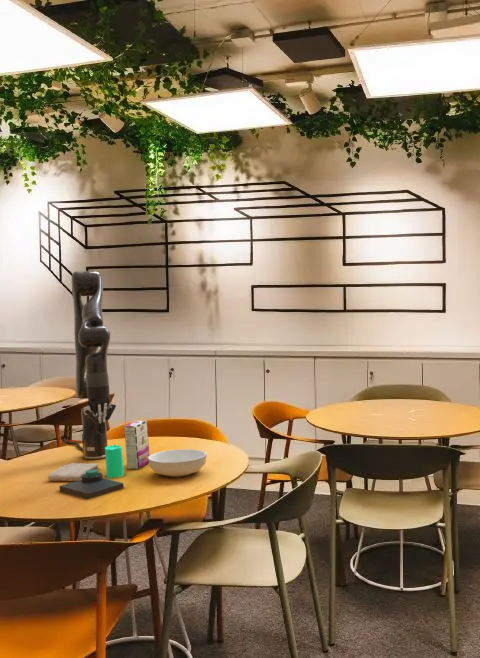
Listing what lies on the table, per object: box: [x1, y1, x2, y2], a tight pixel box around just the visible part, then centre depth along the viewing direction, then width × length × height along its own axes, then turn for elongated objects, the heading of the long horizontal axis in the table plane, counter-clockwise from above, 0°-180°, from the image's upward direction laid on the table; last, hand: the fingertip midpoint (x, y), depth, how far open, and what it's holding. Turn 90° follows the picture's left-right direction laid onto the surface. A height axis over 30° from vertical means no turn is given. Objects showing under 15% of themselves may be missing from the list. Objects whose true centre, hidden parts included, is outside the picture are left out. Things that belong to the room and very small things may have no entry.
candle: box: [105, 444, 125, 479], centre depth 243 cm, size 6×6×12 cm
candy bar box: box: [123, 420, 150, 470], centre depth 256 cm, size 11×5×16 cm, turn 168°
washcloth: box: [47, 462, 100, 482], centre depth 245 cm, size 12×18×3 cm, turn 172°
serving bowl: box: [148, 448, 207, 478], centre depth 243 cm, size 21×21×7 cm
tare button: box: [86, 469, 99, 477], centre depth 232 cm, size 4×4×2 cm
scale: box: [58, 472, 125, 500], centre depth 226 cm, size 16×14×4 cm
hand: (100, 433), depth 236 cm, fingers closed
